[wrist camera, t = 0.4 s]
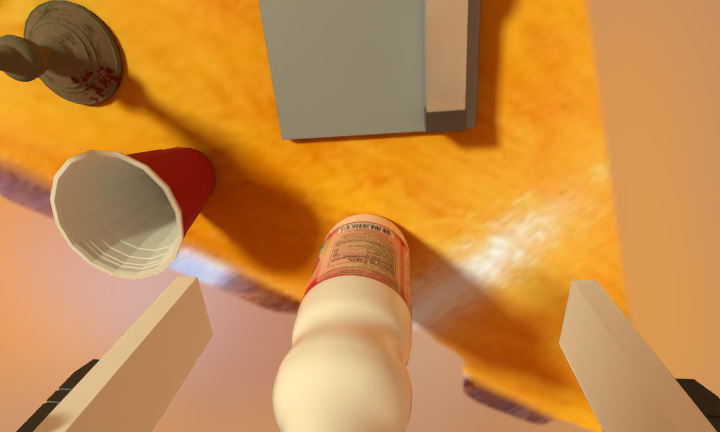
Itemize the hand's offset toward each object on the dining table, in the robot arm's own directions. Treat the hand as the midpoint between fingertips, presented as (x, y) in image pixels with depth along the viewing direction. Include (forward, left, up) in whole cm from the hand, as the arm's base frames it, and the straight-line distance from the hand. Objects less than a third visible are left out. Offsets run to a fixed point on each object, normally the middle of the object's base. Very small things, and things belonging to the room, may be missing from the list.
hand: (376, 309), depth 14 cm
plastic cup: (+2, -21, -26) cm, 34 cm away
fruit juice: (+12, -3, -26) cm, 29 cm away
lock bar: (-9, +5, -24) cm, 26 cm away
